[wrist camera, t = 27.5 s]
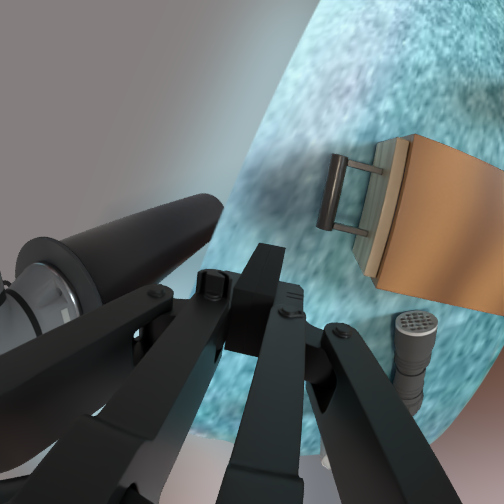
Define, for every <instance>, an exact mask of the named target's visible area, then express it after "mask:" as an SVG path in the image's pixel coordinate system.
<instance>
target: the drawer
mask: <svg viewBox="0 0 504 504" xmlns="http://www.w3.org/2000/svg"><path fill="white" fill-rule="evenodd" d="M408 147H409V141H408V140H405V139H402V138H399V137H396V138H393V139H389V140H386V141H383V142H379V143H377V147H376V152H375V157H374V162H373V166H371V165H367V164H364V163H360V162H356V161H352V160H348V157H346V156H343V155H339V154H333V153H332V154H331V159H330V163H329V168H328V173H327V178H326V183H325V187H324V192H323V197H322V201H321V206H320V210H319V215H318V219H317V223H316V227H317V228H319V229H322V230H326V231H332V229H335V230H339V231H344V232H348V233H352V234H356V239H355V243H354V246H353V250H352V252H353V254H354V256H355V258H356V260H357V262H358V264H359V266H360V268H361V270H362V273H363V275H364V276H368V277H373V278H376V275H377V272H378V269H379V266H380V262H381V260H382V259H383V256H384V252H385V249H386V247H385V245H386V242H387V238H388V235H389V231H390V228H391V224H392V220H393V216H394V212H395V208H396V204H397V200H398V196H399V191H400V187H401V182H402V178H403V173H404V168H405V167H406V163H407V158H408V155H407V153H408ZM347 166H349V167H353V168H357V169H361V170H364V171H368V172H371V177H370V181H369V186H368V190H367V195H366V199H365V203H364V207H363V212H362V216H361V220H360V224H359V228H357V227H353V226H349V225H345V224H341V223H337V222H334V221H335V217H336V213H337V208H338V204H339V200H340V195H341V191H342V186H343V182H344V177H345V172H346V167H347Z"/></svg>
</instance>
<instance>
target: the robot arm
mask: <svg viewBox="0 0 504 504" xmlns="http://www.w3.org/2000/svg"><path fill="white" fill-rule="evenodd" d="M285 249H286V248H284V247H279V246H274V245H269V244H264V243H259V244H258V246H257V247H256V249H255V251H254V253H253V254H252V256H251V258H250V260H249V261H248V263H247V265H246V267H245V268H244V270H243V272H242V274H239V273H235V272H230V271H221V270H216V269H204V270H200V271H199V272H198V274H197V284H196V293H195V294H194V295H193V296H192V297H191V299H175V298H173V295H174V292H173V290H172V289H171V288H169V287H167V286H163V285H162V284H150V285H146V286H143V287H140V288H138V289H136V290H134V291H132V292H130V293H128V294H126V295H123V296H121V297H119V298H117V299H115V300H113V301H111V302H109V303H106V304H104V305H102V306H100V307H98V308H96V309H94V310H92V311H90V312H88V313H86V314H83V309H82V305H81V302H80V299H79V297H78V295H77V293H76V291H75V289H74V287H73V285H72V284H71V282H70V281H69V279H68V278H67V277H66V275H65V274H64V273H63V272H62V271H61V270H60V269H59V268H58V267H56V266H55V265H53V264H51V263H49V262H46V261H38V262H35V263H33V264H31V265H29V266H28V267H27V268H25V269H24V271H23V272H22V273H21V274H20V275H19V276H18V277H17V279H16V280H15V281H14V282H13V283H12V284H11V283H10V282H9V281H6V280H5V281H2V277H1V273H0V473H3V472H6V471H9V470H11V469H14V468H16V467H18V466H20V465H22V464H24V463H25V462H27V461H29V460H30V459H32V458H33V457H35V456H36V455H38V454H39V453H40V452H42V451H43V450H45V449H46V448H47V447H49V446H50V445H51V444H53V443H54V442H56V441H57V440H58V439H59V440H58V441H57V442H56V443H55V445H54V446H53V447H52V448H51V450H50V451H49V452H48V453H47V455H46V456H45V457H44V458H43V459H42V461H41V462H40V463H39V464H38V466H37V467H36V468H35V470H34V471H33V472H32V473H31V474H30V475H25V476H21V477H15V478H10V479H5V480H0V504H159V499H160V495H161V492H162V489H163V487H164V485H165V483H166V481H167V478H168V476H169V474H170V472H171V469H172V467H173V465H174V463H175V461H176V458H177V456H178V454H179V452H180V449H181V447H182V445H183V443H184V441H185V438H186V436H187V434H188V432H189V429H190V427H191V425H192V423H193V420H194V418H195V416H196V414H197V411H198V409H199V407H200V405H201V402H202V400H203V398H204V395H205V393H206V391H207V389H208V386H209V384H210V382H211V379H212V377H213V375H214V373H215V370H216V368H217V366H218V363H219V361H220V359H221V356H222V350H223V345H224V343H225V348H224V349H225V350H229V351H233V352H237V353H242V354H246V355H250V356H255V357H258V360H257V364H256V368H255V372H254V376H253V379H252V383H251V387H250V390H249V394H248V398H247V401H246V405H245V409H244V412H243V416H242V419H241V423H240V426H239V430H238V433H237V437H236V440H235V444H234V447H233V451H232V454H231V458H230V461H229V464H228V466H227V468H226V471H225V474H224V477H223V481H222V484H221V487H220V490H219V494H218V497H217V500H216V503H215V504H303V495H304V481H303V478H300V477H299V475H298V469H299V457H300V444H301V431H302V415H303V397H304V380H305V381H306V390H307V393H308V396H309V399H310V402H311V405H312V409H313V412H314V415H315V418H316V421H317V425H318V428H319V431H320V434H321V438H322V441H323V444H324V447H325V450H326V454H327V457H328V460H329V463H330V467H331V470H332V473H333V476H334V480H335V483H336V486H337V490H338V493H339V496H340V499H341V503H342V504H462V502H461V500H460V498H459V497H458V495H457V493H456V491H455V489H454V487H453V486H452V484H451V482H450V480H449V478H448V477H447V475H446V473H445V471H444V470H443V468H442V466H441V464H440V463H439V461H438V459H437V457H436V456H435V454H434V452H433V451H432V449H431V447H430V445H429V444H428V442H427V440H426V439H425V437H424V435H423V434H422V432H421V430H420V429H419V427H418V425H417V424H416V422H415V420H414V419H413V417H412V415H411V414H410V412H409V410H408V409H407V407H406V406H405V404H404V402H403V401H402V399H401V398H400V396H399V394H398V393H397V391H396V390H395V388H394V386H393V385H392V383H391V382H390V380H389V378H388V377H387V375H386V374H385V372H384V371H383V369H382V368H381V366H380V364H379V363H378V361H377V360H376V358H375V357H374V355H373V354H372V352H371V351H370V349H369V348H368V346H367V345H366V343H365V342H364V340H363V338H362V337H361V335H360V334H359V333H358V332H357V331H356V329H354V328H352V327H351V326H350V325H347V324H344V323H337V322H336V323H329V324H326V326H325V327H324V330H322V329H319V328H316V327H314V326H312V325H311V324H309V323H308V322H307V321H306V315H305V313H304V312H303V297H304V290H303V289H302V288H301V287H300V285H296V284H291V283H286V282H281V281H279V278H280V273H281V268H282V264H283V259H284V254H285ZM4 285H7V286H8V287H9V288H7V289H6V290H5V289H4ZM138 329H139V336H138V337H136V338H134V333H135V332H136V331H137V330H138ZM105 404H106V405H105ZM104 405H105V406H104ZM103 406H104V408H103V409H102V410H101V412H100V413H99V414H98V415H96V416H91V415H92V414H93V413H95V412H96V411H97V410H99V409H100V408H101V407H103Z"/></svg>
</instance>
